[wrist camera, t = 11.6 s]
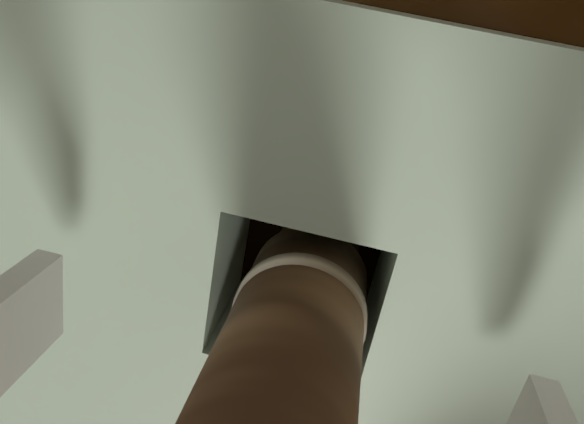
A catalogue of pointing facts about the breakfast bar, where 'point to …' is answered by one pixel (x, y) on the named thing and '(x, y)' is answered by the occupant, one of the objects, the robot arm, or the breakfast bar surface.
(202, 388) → the peg
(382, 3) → the breakfast bar surface
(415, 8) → the breakfast bar surface
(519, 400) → the robot arm
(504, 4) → the breakfast bar surface
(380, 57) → the board
